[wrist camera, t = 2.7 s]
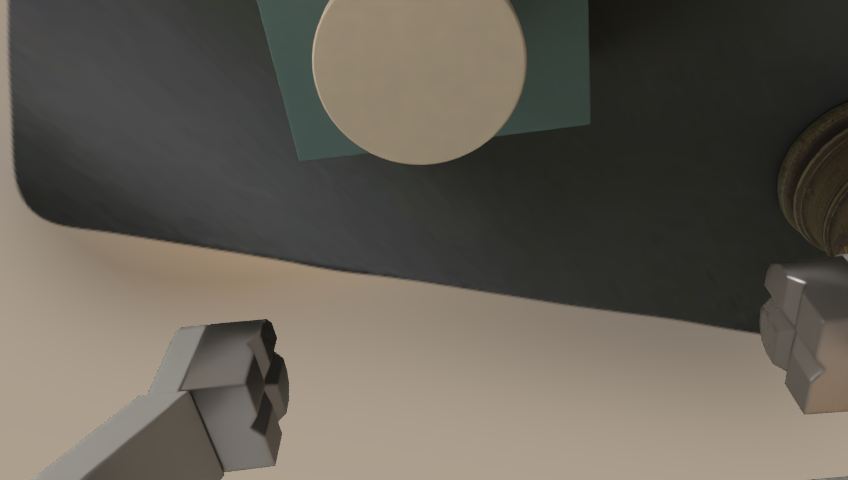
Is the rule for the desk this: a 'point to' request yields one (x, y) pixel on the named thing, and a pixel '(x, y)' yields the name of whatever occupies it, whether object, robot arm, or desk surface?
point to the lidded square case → (535, 111)
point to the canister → (419, 74)
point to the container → (818, 182)
